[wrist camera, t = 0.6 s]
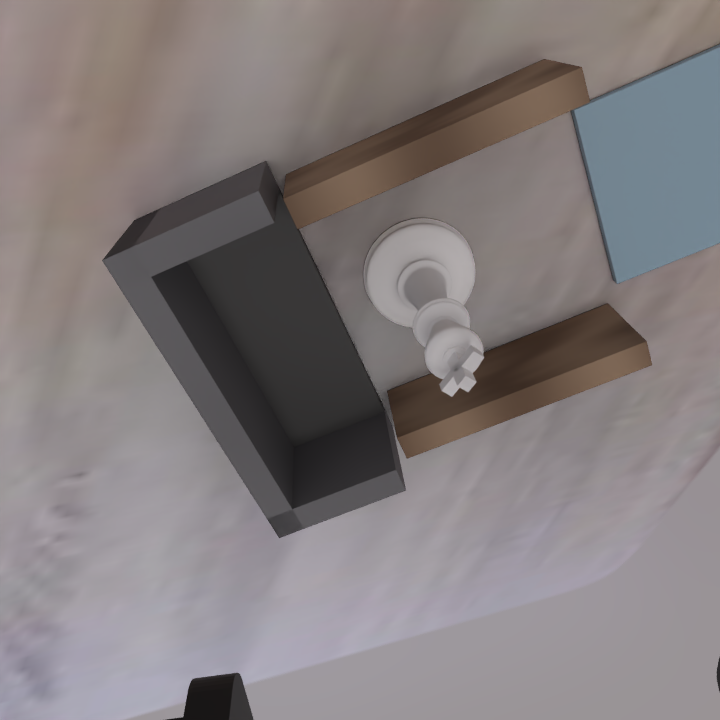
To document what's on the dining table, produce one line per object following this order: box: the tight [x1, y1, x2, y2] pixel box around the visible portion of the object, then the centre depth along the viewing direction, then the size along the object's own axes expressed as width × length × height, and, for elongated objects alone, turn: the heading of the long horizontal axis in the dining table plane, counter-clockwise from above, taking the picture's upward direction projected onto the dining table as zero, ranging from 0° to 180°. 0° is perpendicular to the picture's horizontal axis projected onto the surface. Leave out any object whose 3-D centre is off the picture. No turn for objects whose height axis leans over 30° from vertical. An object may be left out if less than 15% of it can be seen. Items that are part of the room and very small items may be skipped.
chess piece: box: [363, 218, 484, 397], centre depth 25 cm, size 5×5×10 cm
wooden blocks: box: [283, 59, 652, 458], centre depth 28 cm, size 11×12×4 cm
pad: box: [571, 44, 720, 284], centre depth 28 cm, size 8×8×1 cm
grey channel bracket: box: [102, 161, 406, 538], centre depth 28 cm, size 6×14×5 cm, turn 23°
